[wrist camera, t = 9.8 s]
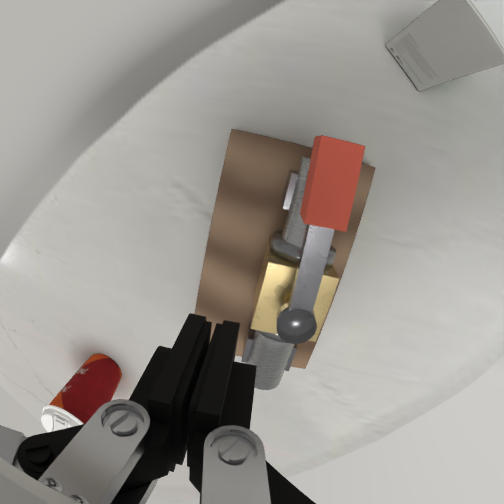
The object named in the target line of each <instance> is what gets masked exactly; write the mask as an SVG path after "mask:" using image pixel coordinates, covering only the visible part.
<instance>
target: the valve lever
mask: <svg viewBox="0 0 504 504" xmlns="http://www.w3.org/2000/svg"><path fill="white" fill-rule="evenodd" d="M364 149H365V146H362V145H359V144H355V143H351V142H347V141H343V140H339V139H335V138H331V137H327V136H322V135H321V136H317V137H315V139H314V144H313V150H312V155H311V160H310V165H309V170H308V175H307V180H306V185H305V190H304V195H303V200H302V205H301V210H300V215H301V218H302V220H303V222H304V224H307V227H306V232H305V236H304V240H303V245H302V249H301V254H300V258H299V262H298V266H297V271H296V275H295V279H294V283H293V287H292V291H291V295H290V299H289V302H287V303H286V304H284V305H283V306H281V308H280V309H279V310H278V312H277V316H276V324H277V333H278V335H279V337H280V338H281V339H282V340H284V341H285V342H287V343H291V344H300V343H304V342H306V341H308V340H309V339H311V338H312V337H313V335H314V334H315V332H316V329H317V323H316V319H315V314H314V311H313V308H314V305H315V301H316V298H317V294H318V291H319V287H320V284H321V280H322V276H323V273H324V269H325V265H326V261H327V257H328V254H329V250H330V246H331V242H332V238H333V234H334V230H339V231H344V232H346V230H347V226H348V222H349V218H350V214H351V210H352V205H353V201H354V197H355V192H356V188H357V183H358V179H359V174H360V169H361V164H362V159H363V154H364Z"/></svg>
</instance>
